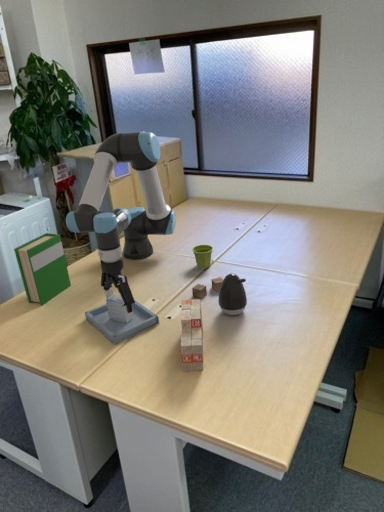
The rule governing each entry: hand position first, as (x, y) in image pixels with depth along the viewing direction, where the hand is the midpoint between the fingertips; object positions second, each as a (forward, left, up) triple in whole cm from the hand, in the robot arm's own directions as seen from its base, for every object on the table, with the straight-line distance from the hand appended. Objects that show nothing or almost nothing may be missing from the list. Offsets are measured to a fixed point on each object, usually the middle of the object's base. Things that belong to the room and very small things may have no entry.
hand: (120, 312), depth 145 cm
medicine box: (0, 0, -3) cm, 3 cm away
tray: (0, 0, -4) cm, 4 cm away
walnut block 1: (+6, +32, -4) cm, 33 cm away
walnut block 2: (+7, +41, -4) cm, 42 cm away
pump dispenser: (+24, +33, -4) cm, 41 cm away
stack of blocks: (+31, +9, -4) cm, 33 cm away
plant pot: (-14, +51, -4) cm, 53 cm away
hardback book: (-41, -11, -4) cm, 43 cm away
